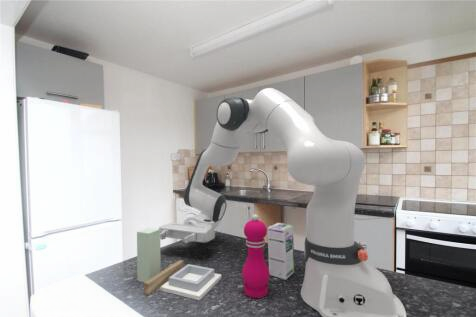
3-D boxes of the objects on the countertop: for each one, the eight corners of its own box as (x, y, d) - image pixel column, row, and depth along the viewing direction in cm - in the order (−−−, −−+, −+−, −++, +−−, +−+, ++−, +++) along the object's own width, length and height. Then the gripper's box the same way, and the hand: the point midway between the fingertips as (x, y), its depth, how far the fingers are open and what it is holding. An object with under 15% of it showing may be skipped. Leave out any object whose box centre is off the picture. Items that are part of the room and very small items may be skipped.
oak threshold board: (183, 270, 75) (183, 260, 75) (148, 295, 61) (148, 283, 61) (179, 269, 76) (179, 260, 76) (143, 294, 62) (143, 282, 62)
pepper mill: (268, 300, 59) (267, 218, 59) (239, 297, 60) (238, 217, 60) (270, 285, 66) (270, 211, 66) (244, 283, 67) (243, 211, 67)
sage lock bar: (160, 276, 72) (160, 229, 72) (149, 283, 67) (149, 233, 67) (148, 273, 73) (148, 227, 73) (137, 280, 69) (136, 231, 69)
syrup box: (286, 280, 68) (285, 229, 68) (268, 274, 72) (267, 225, 72) (294, 272, 73) (294, 224, 73) (277, 267, 77) (276, 221, 77)
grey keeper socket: (221, 278, 70) (221, 267, 70) (199, 300, 59) (199, 288, 59) (186, 271, 75) (186, 261, 75) (160, 290, 64) (160, 279, 64)
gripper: (172, 217, 97) (147, 226, 84) (218, 221, 89) (197, 232, 76) (172, 233, 97) (147, 244, 84) (218, 239, 89) (198, 252, 76)
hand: (171, 238), depth 80 cm, fingers open, 8 cm apart
